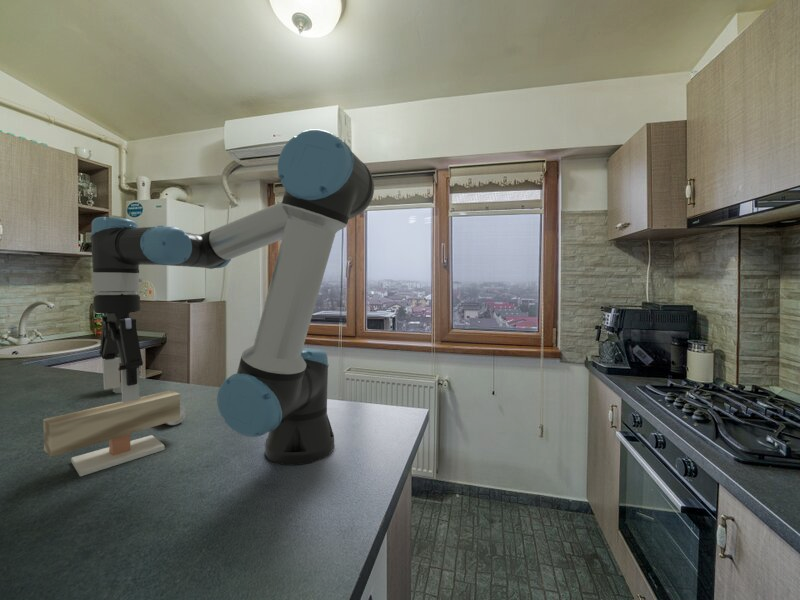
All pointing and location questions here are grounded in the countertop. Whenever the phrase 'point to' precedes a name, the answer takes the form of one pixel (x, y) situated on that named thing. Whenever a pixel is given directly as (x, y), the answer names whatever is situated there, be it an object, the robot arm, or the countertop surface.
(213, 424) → the countertop surface
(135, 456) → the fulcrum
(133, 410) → the beech bar
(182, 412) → the soda can
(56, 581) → the countertop surface
